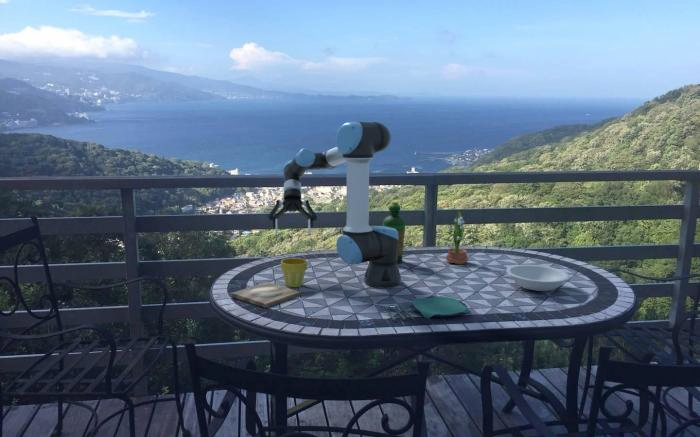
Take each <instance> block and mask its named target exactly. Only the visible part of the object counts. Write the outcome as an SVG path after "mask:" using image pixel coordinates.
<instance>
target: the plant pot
mask: <svg viewBox="0 0 700 437" xmlns="http://www.w3.org/2000/svg"><path fill="white" fill-rule="evenodd" d="M280 269H281V271H282V273H283V278H284V279H283V280H284V284H285V287H288V288H298V287H301V286H302V285H303V281H304V277H305V273H306V271H307V269H308V261H307V259H304V258H300V257H299V258H298V257H290V258H289V257H287V258H285V259H281V261H280Z"/></svg>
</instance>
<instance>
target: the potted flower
mask: <svg viewBox="0 0 700 437" xmlns="http://www.w3.org/2000/svg"><path fill="white" fill-rule="evenodd" d="M454 222H455V223H454ZM453 223H454V226H453V227H452V231H453V233H452V234H453V235H452V238H453V241H454V248H449V249H447V255H446V257H445V259H446V261H447V262H448V263H449V262H450V264H452V263H455V264H454V265H464V264H466V263H468V260H469V256H468V255H467V252H468V251H467V250H466V249H464V248H463V249H462V248H460V244H461V242H462V239H463V236H464V232H465V226H464V225H463V224H465V220H464V217H463V216H462V213H461V212H460V210H459V211H457V213H456V216H455V218H454V220H453ZM463 263H464V264H463Z"/></svg>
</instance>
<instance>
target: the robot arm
mask: <svg viewBox="0 0 700 437" xmlns="http://www.w3.org/2000/svg"><path fill="white" fill-rule="evenodd" d="M391 136H392V135H391V132H390V130H389V128H388V127H387V126H386V125H385V124H383V123H381V122H378V121H350V122H345V123H344V124H342V125H341V126H340V127H339V129H338V130H337V133H336V137H335V145H336V146H335V147H333V148H331V149H328V150H326V151H323V152H314V151H312V150H311V149H309V148H307V147H306V148H301V149H300V150H299V151H298V152H297V153H296V154H295V156H294V158H293V159H291V160H288V161H286V162H285V163H284V165H283V201H282V200H280V199H276V201H275V202H276V204H275V205H274V206H273V208H272V210H271V212H270V213H269V215H268V221H269V222H272V228H273V229H274V230H275V231H274V232H275V236H276V237H277V236H278V220H279V219H280V218H281V217H282V216H283V215H284V214H285V213H287V212H298V213H299V214H301V215H302V216H303V217H304V218H305V219H306V220H307V229H308V236H309V237H310V236H311V234H312V233H311V232H312V231H311V229H313V228H314V222H316V221H317V219H318V216H317V214H316V213H315V211H314V209H313V208H312V206H311V205H310V202H309V200H308V199H306V200H305V201H303V200H302V177H303V175H304V174H305V173H307V171H319V170H333V169H337V168H338V167H339V166H340V165H342V164H344V163H346V225H345V226H344V227H343V228H342V235H340V236H339V237H338V238H337V240H336V252H337V254H338V256H339V257H340V259H341V260H342V261H343V263H344V264H347V265H360V264H363V263H367V262H368V265H367V267H366V271H365V274H364V276H363V278H364V279H363V282H364V284H365V285H367V286H370V287H373V288H379V289H380V288H381V289H382V288H383V289H385V288H386V289H387V288H389V289H390V288H395V287H398V286H400V285H401V284H402V276H401V273H400V269H399V266H398V263H397V260H398V240H399V239H398V231H397V230H396V229H394V228H390V227H384V226H383V225H370V162H371V161H372V160H373V159H374V155H375V154H378V153H380V152H383V151H385V150H386V149H387V148H388V147H389V145H390V144H391V140H392V137H391ZM281 206H283V207H281ZM303 206H304V207H305V209H304V207H303ZM280 207H281V209H280ZM279 209H280V210H279Z"/></svg>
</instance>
